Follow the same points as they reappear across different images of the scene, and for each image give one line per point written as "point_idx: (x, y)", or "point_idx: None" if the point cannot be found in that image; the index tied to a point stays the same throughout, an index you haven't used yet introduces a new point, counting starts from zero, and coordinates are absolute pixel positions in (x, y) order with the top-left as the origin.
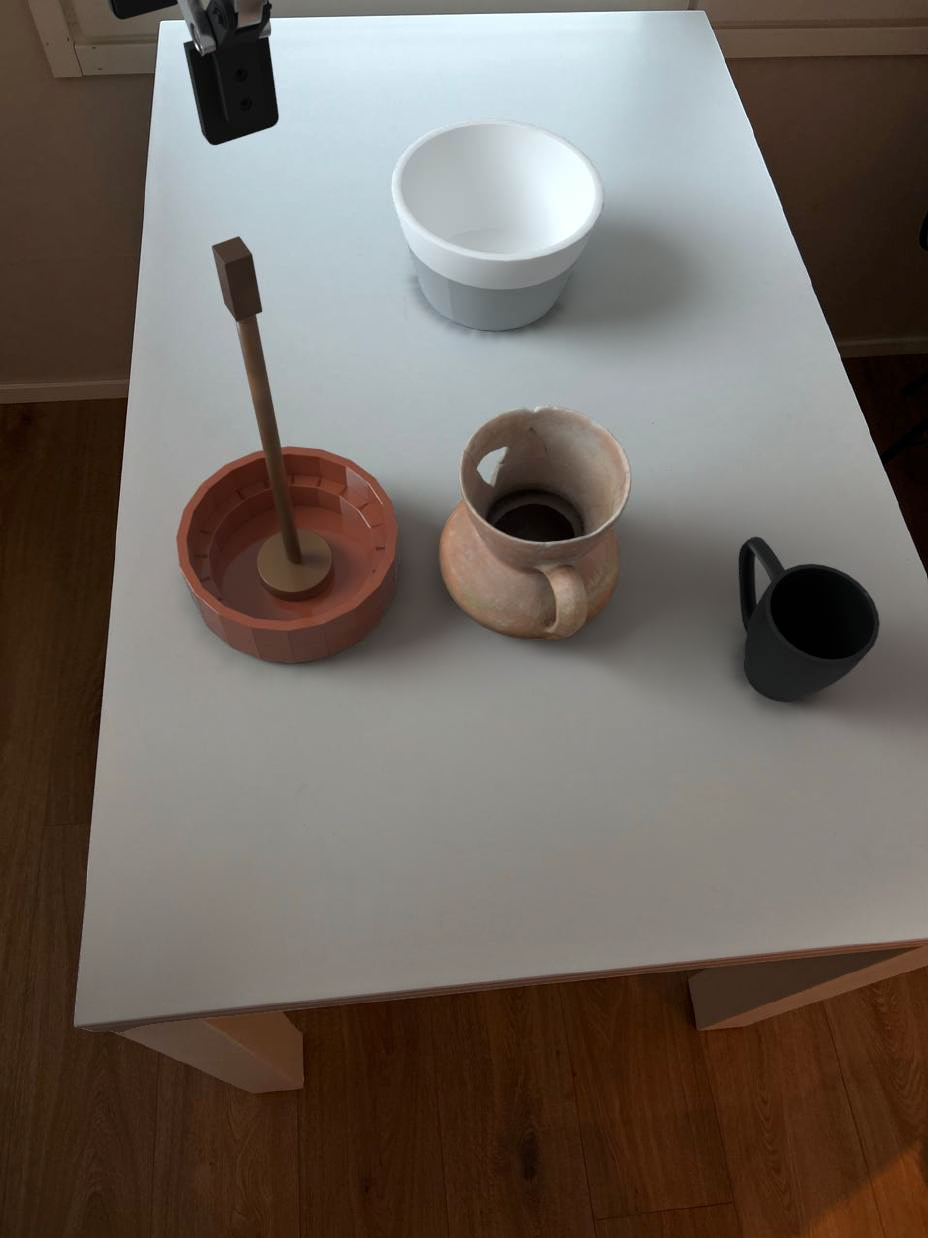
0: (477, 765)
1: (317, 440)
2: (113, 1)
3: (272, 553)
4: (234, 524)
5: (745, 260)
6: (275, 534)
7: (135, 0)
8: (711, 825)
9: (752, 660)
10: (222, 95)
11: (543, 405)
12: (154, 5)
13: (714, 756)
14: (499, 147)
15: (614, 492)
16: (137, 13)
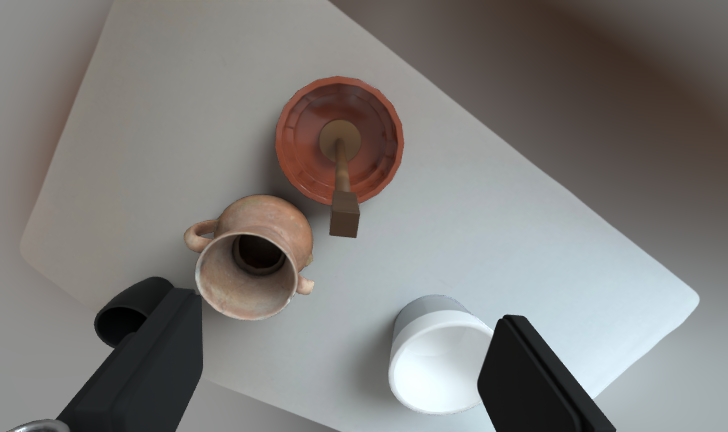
0: (187, 146)
1: (405, 198)
2: (517, 329)
3: (350, 133)
4: (383, 128)
5: (358, 419)
6: (360, 142)
7: (499, 351)
8: (102, 216)
9: (148, 286)
10: (107, 366)
11: (287, 304)
12: (487, 361)
13: (133, 240)
14: (476, 385)
15: (231, 297)
16: (493, 338)
